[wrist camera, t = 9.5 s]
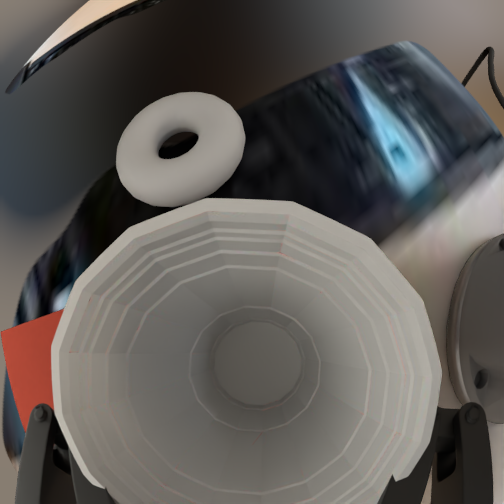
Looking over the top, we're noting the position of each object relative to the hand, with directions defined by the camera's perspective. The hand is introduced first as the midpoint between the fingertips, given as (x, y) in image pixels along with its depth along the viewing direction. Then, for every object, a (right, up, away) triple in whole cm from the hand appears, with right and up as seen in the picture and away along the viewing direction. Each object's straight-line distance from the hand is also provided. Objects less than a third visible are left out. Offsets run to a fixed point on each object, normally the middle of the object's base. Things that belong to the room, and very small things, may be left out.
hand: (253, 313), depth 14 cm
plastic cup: (0, -4, +3) cm, 5 cm away
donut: (-5, +10, +8) cm, 14 cm away
